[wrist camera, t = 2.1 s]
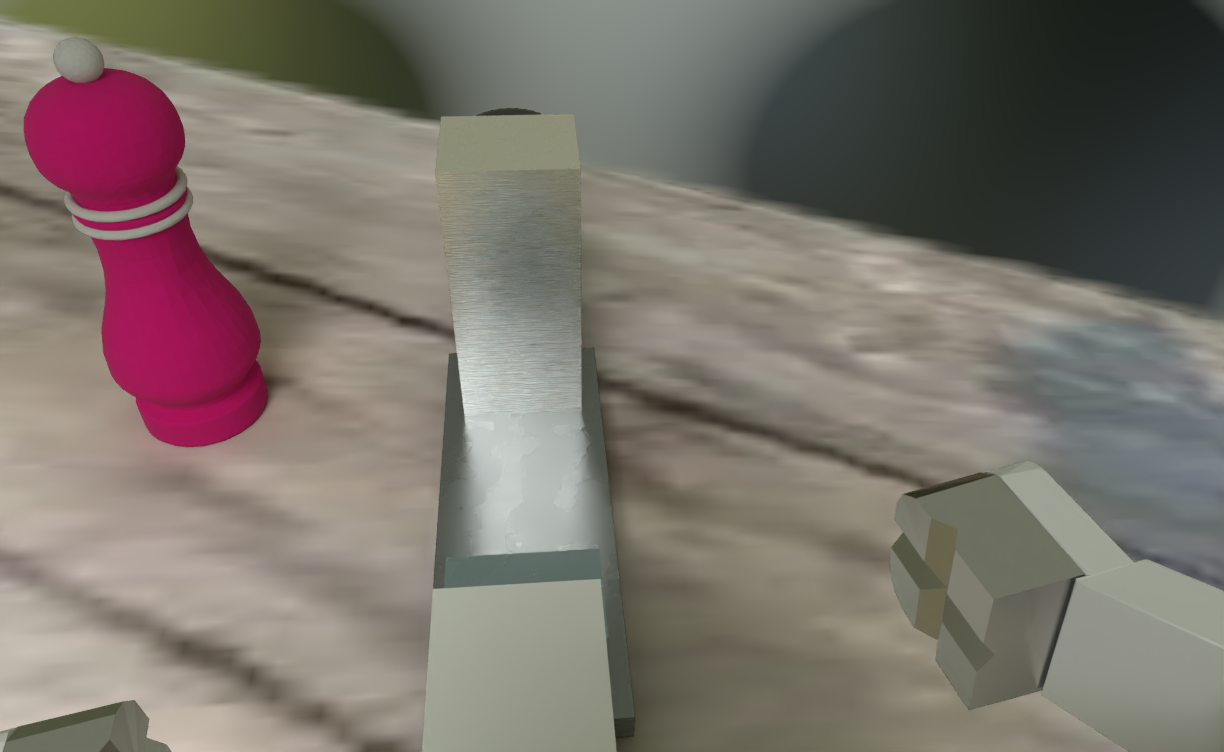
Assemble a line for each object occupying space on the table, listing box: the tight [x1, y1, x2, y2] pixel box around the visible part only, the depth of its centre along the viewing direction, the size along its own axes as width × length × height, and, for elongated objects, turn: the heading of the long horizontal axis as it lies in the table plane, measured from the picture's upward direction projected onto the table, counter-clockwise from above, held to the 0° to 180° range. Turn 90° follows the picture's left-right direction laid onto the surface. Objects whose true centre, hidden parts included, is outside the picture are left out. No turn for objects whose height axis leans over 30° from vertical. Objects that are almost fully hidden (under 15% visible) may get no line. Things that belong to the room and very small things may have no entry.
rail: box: [433, 114, 635, 738], centre depth 39 cm, size 22×8×16 cm, turn 5°
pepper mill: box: [24, 38, 268, 447], centre depth 43 cm, size 7×7×20 cm
